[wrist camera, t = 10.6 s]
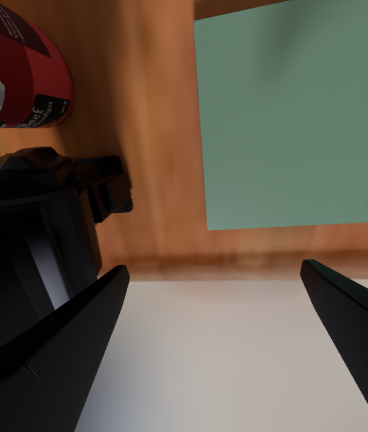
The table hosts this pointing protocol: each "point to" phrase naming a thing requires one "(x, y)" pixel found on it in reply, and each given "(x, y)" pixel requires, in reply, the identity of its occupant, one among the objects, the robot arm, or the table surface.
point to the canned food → (31, 76)
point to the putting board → (284, 114)
